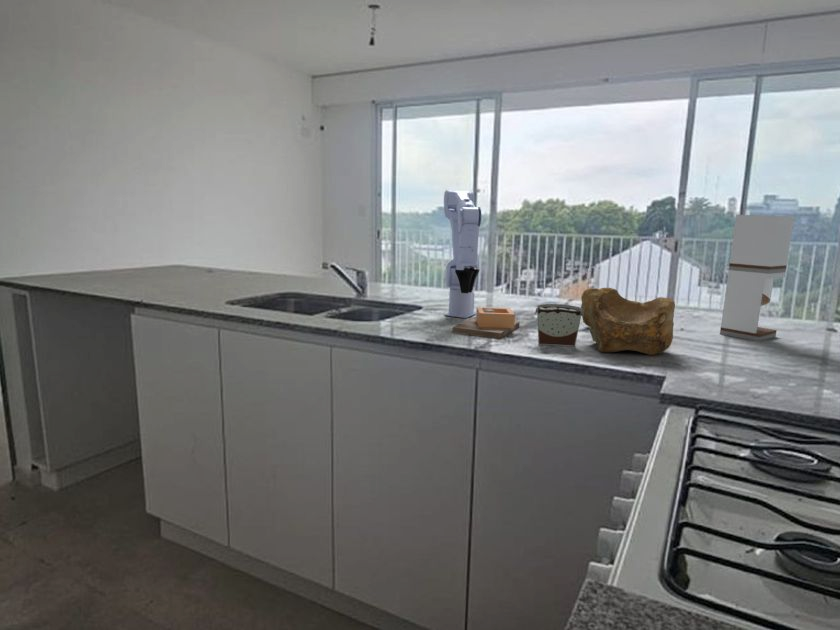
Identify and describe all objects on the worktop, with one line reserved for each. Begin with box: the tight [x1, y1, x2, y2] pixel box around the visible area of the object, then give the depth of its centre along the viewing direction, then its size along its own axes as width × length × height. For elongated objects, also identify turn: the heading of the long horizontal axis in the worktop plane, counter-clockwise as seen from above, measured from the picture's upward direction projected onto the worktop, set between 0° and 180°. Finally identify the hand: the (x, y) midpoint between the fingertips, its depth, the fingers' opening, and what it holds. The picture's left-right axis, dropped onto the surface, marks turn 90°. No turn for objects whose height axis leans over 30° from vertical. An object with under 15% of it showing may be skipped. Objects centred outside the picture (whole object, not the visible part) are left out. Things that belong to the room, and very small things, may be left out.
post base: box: [452, 309, 521, 339], centre depth 156 cm, size 19×14×6 cm
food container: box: [534, 303, 584, 347], centre depth 141 cm, size 12×6×10 cm, turn 84°
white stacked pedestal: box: [719, 214, 795, 342], centre depth 156 cm, size 11×11×35 cm
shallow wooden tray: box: [475, 306, 516, 328], centre depth 156 cm, size 10×10×4 cm
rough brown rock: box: [580, 287, 676, 356], centre depth 135 cm, size 23×17×15 cm
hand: (466, 292), depth 163 cm, fingers open, 2 cm apart
